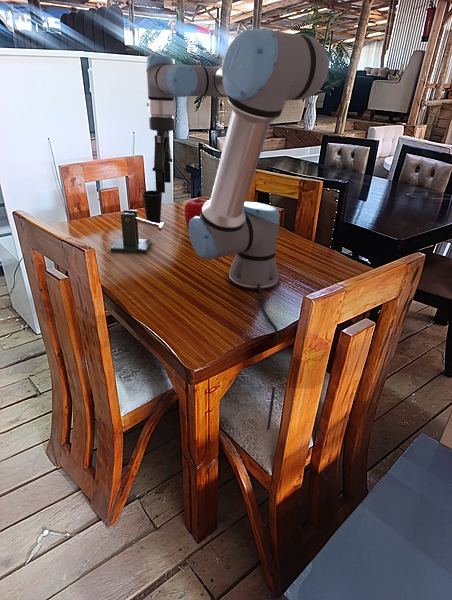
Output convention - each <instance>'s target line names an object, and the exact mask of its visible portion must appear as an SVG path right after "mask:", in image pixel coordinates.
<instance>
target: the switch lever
mask: <svg viewBox="0 0 452 600" xmlns="http://www.w3.org/2000/svg"><path fill="white" fill-rule="evenodd" d="M126 213H128V214H132V213H129V212H126ZM135 221H137V222H138V223H141V224H144V225H148V226H151V227H155V228H157V231H158V232H162V231H163V228H164V226H165V222H164V221H160V223H154V222H151V221H147V220H146V219H144V218H140V217H138V216H137V217H135Z"/></svg>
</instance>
